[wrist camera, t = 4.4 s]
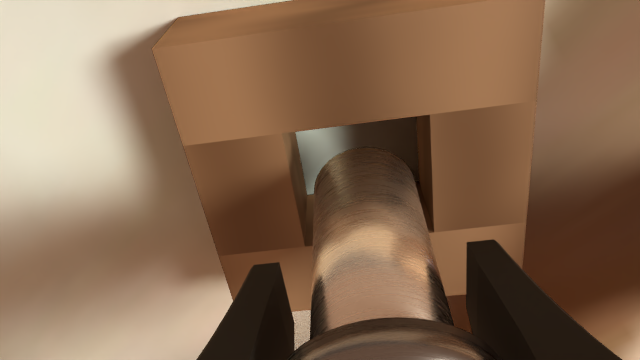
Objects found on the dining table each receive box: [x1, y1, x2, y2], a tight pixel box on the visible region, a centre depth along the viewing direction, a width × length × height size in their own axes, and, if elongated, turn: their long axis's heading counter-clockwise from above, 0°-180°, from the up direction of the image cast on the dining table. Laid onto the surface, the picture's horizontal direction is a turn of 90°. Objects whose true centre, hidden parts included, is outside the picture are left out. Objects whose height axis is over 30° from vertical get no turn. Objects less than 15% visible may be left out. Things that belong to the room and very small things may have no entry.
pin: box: [286, 147, 502, 360], centre depth 12 cm, size 4×4×8 cm
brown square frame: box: [152, 0, 545, 312], centre depth 17 cm, size 10×10×3 cm
